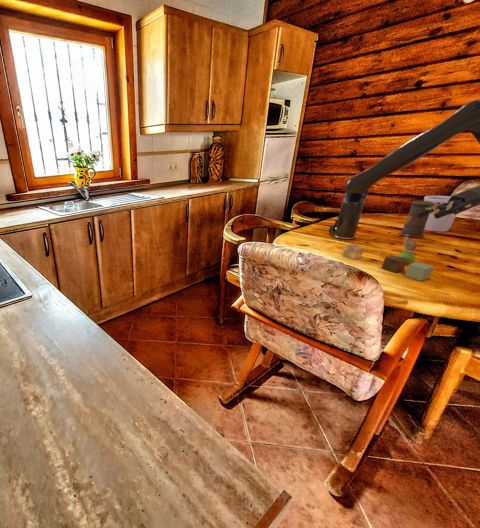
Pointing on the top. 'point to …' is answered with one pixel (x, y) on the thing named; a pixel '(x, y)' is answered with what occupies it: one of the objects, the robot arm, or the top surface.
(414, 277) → the sage block
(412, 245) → the snail figurine
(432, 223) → the utensil holder
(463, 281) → the top surface
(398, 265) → the walnut block
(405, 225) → the container
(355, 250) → the mauve cube
